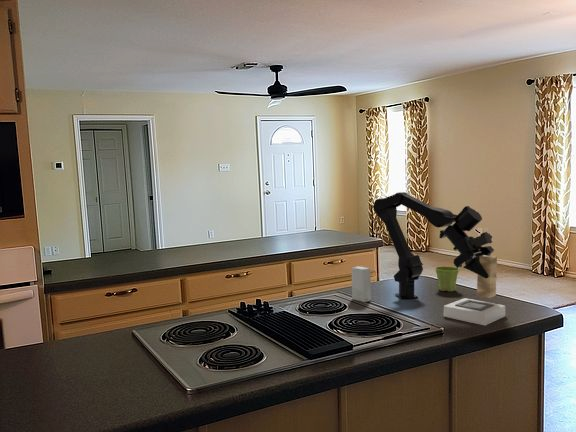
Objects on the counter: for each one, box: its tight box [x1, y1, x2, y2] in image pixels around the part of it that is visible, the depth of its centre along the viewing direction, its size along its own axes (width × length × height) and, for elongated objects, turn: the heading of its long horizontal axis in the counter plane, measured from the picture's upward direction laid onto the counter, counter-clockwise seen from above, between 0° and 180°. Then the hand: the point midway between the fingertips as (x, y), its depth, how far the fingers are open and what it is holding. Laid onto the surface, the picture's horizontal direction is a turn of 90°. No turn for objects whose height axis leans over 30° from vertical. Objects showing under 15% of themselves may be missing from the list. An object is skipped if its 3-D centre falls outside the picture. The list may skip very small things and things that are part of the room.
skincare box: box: [350, 265, 372, 303], centre depth 188 cm, size 6×4×12 cm
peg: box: [476, 255, 498, 299], centre depth 169 cm, size 4×4×13 cm
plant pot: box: [434, 265, 460, 292], centre depth 202 cm, size 9×9×9 cm
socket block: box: [443, 297, 506, 326], centre depth 166 cm, size 14×14×4 cm
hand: (490, 276), depth 168 cm, fingers closed on peg, 4 cm apart
